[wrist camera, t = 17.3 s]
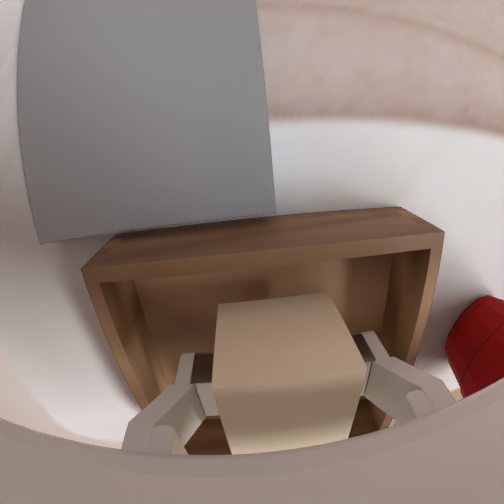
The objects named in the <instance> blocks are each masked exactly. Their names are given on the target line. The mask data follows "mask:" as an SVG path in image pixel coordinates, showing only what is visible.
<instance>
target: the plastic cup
mask: <svg viewBox="0 0 504 504" xmlns="http://www.w3.org/2000/svg"><path fill="white" fill-rule="evenodd" d="M445 348H446V354H447V357H448V361H449V364H450V366H451V368H452V370H453V373H454V375H455V377H456V379H457V381H458V383H459V386H460V389H461V394H462V396H463V399H464V398H466V397H468V396H470V395H472V394H474V393H476V392H478V391H480V390H482V389H484V388H486V387H488V386H489V385H491V384H493V383H495V382H497V381H498V380H500V379H502V378H504V300H502V299H497V298H495V297H490V296H486V297H484V298H481V299H479V300H477V301H476V302H475V303H473V304H472V305H471V306H470V307H469V308H467V309H466V310H465V311H464V313H463V314H462V315H461V316H460V318H459V319H458V320H457V321H456V323H455V325H454V326H453V328H452V330H451V332H450V334H449V335H448V339H447V343H446V346H445Z"/></svg>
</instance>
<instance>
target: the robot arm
mask: <svg viewBox="0 0 504 504" xmlns="http://www.w3.org/2000/svg"><path fill="white" fill-rule="evenodd" d="M351 336H352V338H353V340H354V342H355V344H356V346H357V348H358V350H359V352H360V354H361V356H362V358H363V360H364V362H365V364H366V366H367V370H366V375H365V379H364V383H363V387H362V391H361V395H360V396H364V397H366V398H367V399H368V400H370V401H371V402H372V403H373V404H375V405H376V406H377V407H379V408H380V409H381V410H383V411H384V412H385V413H387V414H388V415H389V416H391V417H392V418H393V419H395V420H396V421H395V423H394V425H393V426H392V427H389V428H385V429H382V430H379V431H375V432H372V433H368V434H364V435H360V436H356V437H352V438H348V439H344V440H340V441H335V442H330V443H325V444H320V445H314V446H309V447H302V448H296V449H289V450H281V451H272V452H262V453H250V454H233V455H188V453H187V451H186V449H185V448H184V445H185V444H186V443H187V442H188V440H189V439H190V438H191V436H192V435H193V434H194V432H195V431H196V430H197V428H198V427H199V426H200V424H201V423H202V422H203V420H204V419H205V418H206V417H205V416H216V415H219V412H218V409H217V406H216V402H215V399H214V396H213V392H212V389H211V386H212V372H213V359H214V352H196V353H182V354H181V356H180V360H179V365H178V370H177V375H176V380H175V385H170V386H169V387H168V388H166V389H165V390H164V391H163V392H162V393H161V394H160V395H159V396H158V397H156V398H155V399H154V400H153V401H152V402H151V403H150V404H149V405H148V406H146V407H145V408H144V409H143V410H142V411H141V412H140V413H139V414H137V415H136V416H135V417H134V418H133V419H132V420H131V421H129V423H128V426H127V430H126V433H125V437H124V441H123V444H122V449H115V448H109V447H103V446H97V445H92V444H87V443H82V442H77V441H73V440H69V439H64V438H61V437H57V436H53V435H50V434H46V433H42V432H39V431H36V430H33V429H29V428H27V427H24V426H21V425H18V424H15V423H12V422H10V421H7V420H5V419H2V418H0V504H504V378H502V379H500V380H498V381H497V382H495V383H493V384H491V385H489V386H488V387H486V388H484V389H482V390H480V391H478V392H476V393H474V394H472V395H470V396H468V397H466V398H464V399H461V400H459V401H457V402H456V401H455V399H454V398H453V396H452V395H451V393H450V391H449V390H448V388H447V387H446V385H445V384H444V382H443V381H442V380H441V379H438V378H436V377H434V376H432V375H430V374H428V373H426V372H424V371H422V370H420V369H418V368H416V367H414V366H412V365H410V364H408V363H406V362H404V361H402V360H400V359H398V358H396V357H394V356H393V357H390V356H389V355H388V353H387V351H386V350H385V348H384V347H383V345H382V343H381V342H380V340H379V339H378V337H377V335H376V334H375V332H374V331H372V330H371V331H366V332H362V333H358V334H353V335H351Z"/></svg>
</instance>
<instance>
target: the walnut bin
mask: <svg viewBox="0 0 504 504" xmlns="http://www.w3.org/2000/svg"><path fill="white" fill-rule="evenodd" d="M444 233H445V232H444V231H442V230H441V229H439V228H437V227H436V226H434V225H432V224H430V223H429V222H427V221H425V220H423V219H422V218H420V217H418V216H416V215H414V214H412V213H411V212H409V211H407V210H405V209H403V208H401V207H390V208H374V209H358V210H344V211H331V212H318V213H306V214H294V215H283V216H272V217H262V218H251V219H242V220H232V221H223V222H213V223H205V224H196V225H187V226H179V227H171V228H163V229H155V230H147V231H140V232H132V233H125V234H118V235H115V236H114V237H113V238H112V239H111V240H110V241H109V242H108V243H107V244H106V245H104V246H103V247H102V248H101V249H100V250H99V251H98V252H97V253H96V254H95V255H94V256H93V257H92V258H91V259H90V260H89V261H88V262H87V263H86V264H85V265H84V266H83V267H82V268H81V271H82V274H83V278H84V281H85V284H86V286H87V289H88V292H89V295H90V298H91V301H92V303H93V306H94V309H95V311H96V314H97V316H98V319H99V321H100V324H101V326H102V329H103V331H104V334H105V336H106V338H107V341H108V343H109V345H110V347H111V350H112V352H113V354H114V356H115V358H116V360H117V363H118V365H119V367H120V369H121V371H122V373H123V375H124V377H125V379H126V381H127V383H128V385H129V387H130V389H131V391H132V392H133V394H134V396H135V398H136V400H137V402H138V403H139V405H140V407H141V409H142V410H143V409H144V408H145V407H146V406H148V405H149V404H150V403H151V402H152V401H153V400H154V399H155V398H156V397H158V396H159V395H160V394H161V393H162V392H163V391H164V390H165V389H166V388H168V387H169V386H170V385H175V380H176V375H177V370H178V365H179V360H180V356H181V354H182V353H196V352H214V347H215V335H216V323H217V312H218V304H223V303H234V302H244V301H254V300H264V299H273V298H282V297H291V296H299V295H307V294H315V293H323V292H329V294H330V296H331V298H332V300H333V302H334V303H335V305H336V307H337V309H338V311H339V313H340V315H341V317H342V319H343V321H344V322H345V324H346V326H347V328H348V330H349V332H350V334H351V335H353V334H358V333H362V332H366V331H371V330H372V331H374V332H375V334H376V335H377V337H378V339H379V340H380V342H381V343H382V345H383V347H384V348H385V350H386V351H387V353H388V355H389V356H390V357H393V356H394V357H396V358H398V359H400V360H402V361H404V362H406V363H408V364H410V365H412V366H414V363H415V360H416V357H417V354H418V350H419V347H420V344H421V341H422V337H423V334H424V331H425V327H426V323H427V320H428V316H429V312H430V308H431V304H432V300H433V295H434V291H435V286H436V281H437V276H438V271H439V266H440V260H441V254H442V248H443V241H444ZM205 417H206V418H205V419H204V420H203V422H202V423H201V424H200V426H199V427H198V428H197V430H196V431H195V432H194V434H193V435H192V436H191V438H190V439H189V440H188V442H187V443H186V444H185V445H184V448H185V449H186V451H187V453H188V455H232V452H231V450H230V447H229V444H228V441H227V438H226V434H225V431H224V428H223V425H222V422H221V419H220V416H219V415H216V416H205ZM392 419H393V418H392V417H391V416H389V415H388V414H387V413H385V412H384V411H383V410H381V409H380V408H379V407H377V406H376V405H375V404H373V403H372V402H371V401H370V400H368V399H367V398H366V397H364V396H360V399H359V402H358V406H357V410H356V413H355V417H354V420H353V423H352V427H351V430H350V433H349V436H348V438H352V437H356V436H360V435H364V434H368V433H372V432H375V431H379V430H382V429H385V428H388V427H389V425H390V423H391V421H392Z"/></svg>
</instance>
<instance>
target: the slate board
mask: <svg viewBox="0 0 504 504" xmlns="http://www.w3.org/2000/svg"><path fill="white" fill-rule="evenodd" d="M17 106H18V124H19V136H20V146H21V154H22V161H23V168H24V174H25V180H26V186H27V191H28V196H29V201H30V206H31V210H32V214H33V218H34V222H35V226H36V230H37V234H38V238H39V241H40V244H44V243H50V242H56V241H62V240H68V239H74V238H80V237H87V236H93V235H100V234H107V233H113V232H120V231H128V230H135V229H142V228H150V227H157V226H165V225H173V224H181V223H189V222H198V221H207V220H215V219H225V218H234V217H244V216H254V215H264V214H275V213H276V210H275V195H274V182H273V169H272V156H271V144H270V133H269V121H268V111H267V100H266V90H265V80H264V70H263V60H262V51H261V42H260V33H259V25H258V16H257V8H256V0H25V4H24V9H23V15H22V22H21V30H20V39H19V50H18V67H17Z"/></svg>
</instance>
